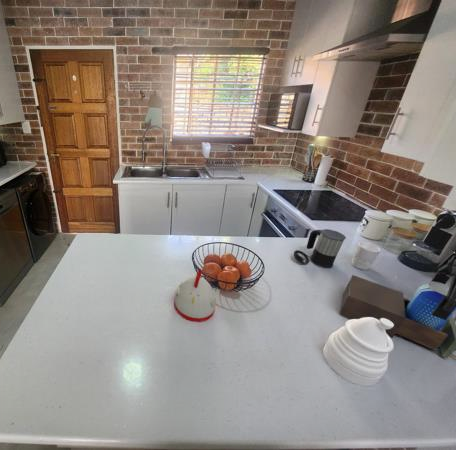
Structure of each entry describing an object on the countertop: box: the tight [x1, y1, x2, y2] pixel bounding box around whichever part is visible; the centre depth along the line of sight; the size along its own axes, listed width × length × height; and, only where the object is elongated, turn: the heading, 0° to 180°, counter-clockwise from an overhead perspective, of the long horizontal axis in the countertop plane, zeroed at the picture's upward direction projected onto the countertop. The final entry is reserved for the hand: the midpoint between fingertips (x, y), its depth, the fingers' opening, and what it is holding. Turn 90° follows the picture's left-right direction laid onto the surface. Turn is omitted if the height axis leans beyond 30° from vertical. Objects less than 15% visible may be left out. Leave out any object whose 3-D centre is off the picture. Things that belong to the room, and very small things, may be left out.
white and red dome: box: [173, 269, 216, 323], centre depth 82 cm, size 14×14×15 cm
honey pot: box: [322, 317, 395, 388], centre depth 65 cm, size 13×13×18 cm
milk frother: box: [293, 228, 347, 269], centre depth 110 cm, size 14×16×15 cm
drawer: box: [395, 297, 456, 359], centre depth 75 cm, size 19×13×7 cm
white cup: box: [350, 241, 381, 271], centre depth 110 cm, size 8×8×10 cm
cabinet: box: [338, 274, 406, 339], centre depth 84 cm, size 14×15×9 cm
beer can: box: [405, 281, 456, 331], centre depth 75 cm, size 8×8×16 cm
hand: (434, 303), depth 73 cm, fingers open, 13 cm apart
